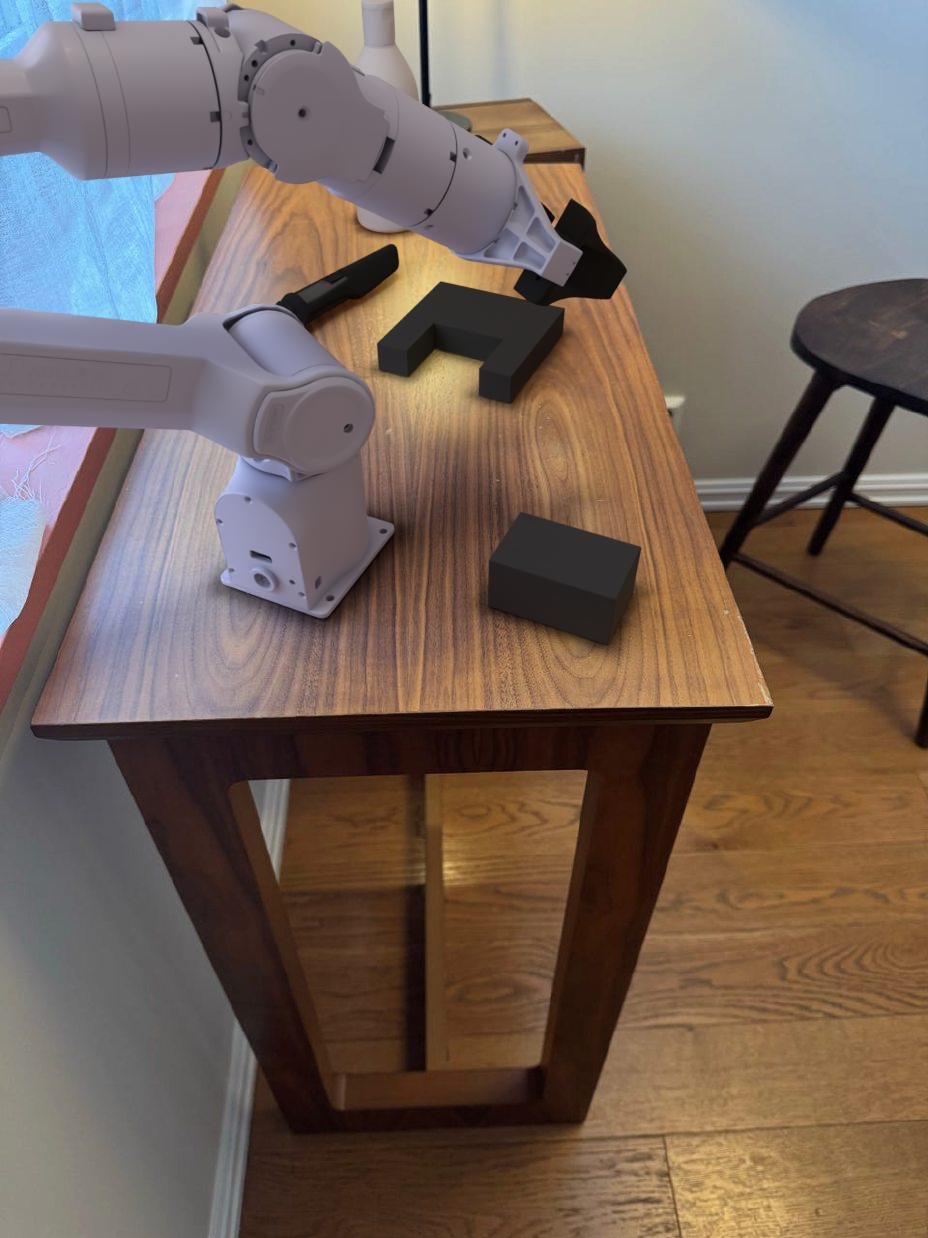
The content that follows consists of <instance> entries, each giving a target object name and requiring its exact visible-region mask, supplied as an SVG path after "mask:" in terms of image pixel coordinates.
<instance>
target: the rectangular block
mask: <svg viewBox="0 0 928 1238" xmlns="http://www.w3.org/2000/svg"><path fill="white" fill-rule="evenodd" d="M641 553H642V546H640V545H636V544H633V543H630V542H626V541H623V540H620V539H616V538H613V537H609V536H605V535H602V534H599V533H595V532H592V531H590V530H589V531H588V530H585V529H582V528H578V527H575V526H571V525H568V524H565V523H561V522H559V521H558V522H557V521H555V520H550V519H548V518H544V517H540V516H537V515H534V514H530V513H526V512H523V511H520V512H519V513H518V514H517V515H516V518H515V519H514V520H513V522H512V524H511V525H510V526H509V528H508V530H507V531H506V533H505V535H504V536H503V537H502V539H501V540H500V542H499V544H498V545H497V547H496V548H495V550H494V551H493V553H492V554H491V556H490V557H489V558H488V578H487V579H488V581H487V607H489V608H493V609H495V610H499V611H502V612H505V613H508V614H511V615H514V616H518V617H520V618H524V619H526V620H529V621H533V622H535V623H539V624H542V625H544V626H547V627H551V628H554V629H557V630H560V631H562V632H566V633H569V634H572V635H575V636H578V637H582V638H584V639H588V640H590V641H593V642H597V643H600V644H602V645H606V646H608V645H610V643H611V640H612V638H613V636H614V634H615V632H616V630H617V628H618V625H619V624H620V621H621V619H622V617H623V615H624V613H625V611H626V609H627V606H628V605H629V603H630V600H631V598H632V596H633V595H634V590H635V585H636V579H637V574H638V569H639V563H640V558H641Z"/></svg>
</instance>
